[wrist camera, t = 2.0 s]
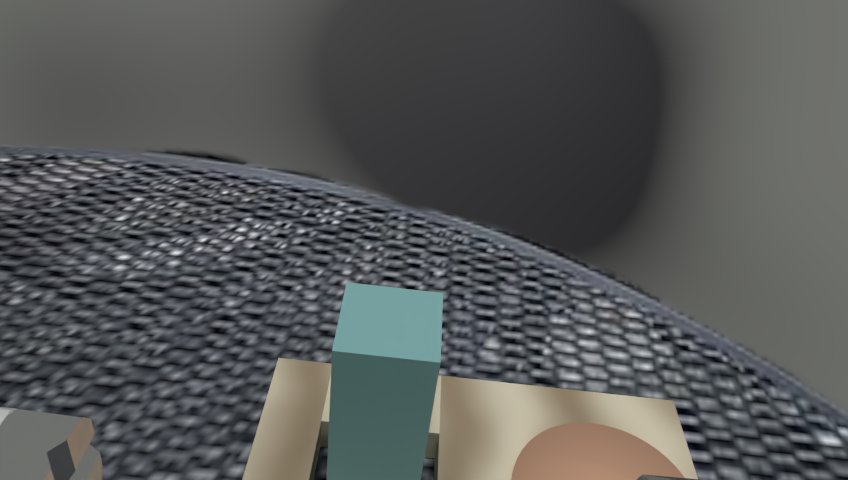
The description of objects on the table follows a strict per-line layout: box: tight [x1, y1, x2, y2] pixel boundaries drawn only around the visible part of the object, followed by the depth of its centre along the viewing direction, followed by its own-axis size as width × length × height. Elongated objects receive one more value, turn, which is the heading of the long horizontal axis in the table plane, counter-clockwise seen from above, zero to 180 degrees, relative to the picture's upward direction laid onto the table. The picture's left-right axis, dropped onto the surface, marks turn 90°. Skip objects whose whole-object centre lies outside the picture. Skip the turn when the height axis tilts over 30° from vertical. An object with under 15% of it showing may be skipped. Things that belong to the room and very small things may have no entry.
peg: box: [327, 283, 443, 480], centre depth 31 cm, size 4×4×12 cm
